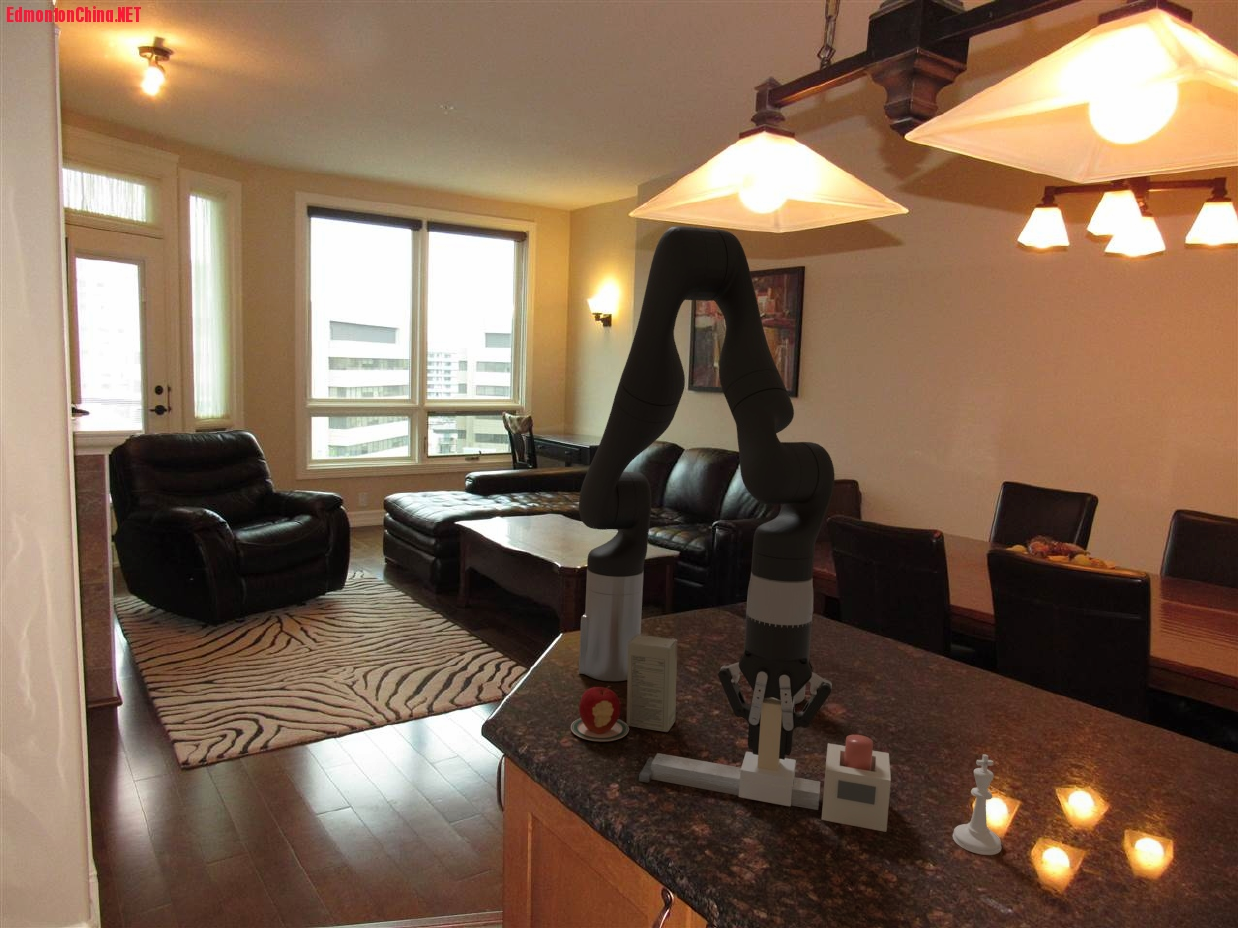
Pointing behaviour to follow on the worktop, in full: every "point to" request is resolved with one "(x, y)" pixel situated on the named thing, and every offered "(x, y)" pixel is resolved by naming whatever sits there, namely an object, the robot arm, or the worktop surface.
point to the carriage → (768, 762)
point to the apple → (599, 716)
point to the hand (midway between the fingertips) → (769, 753)
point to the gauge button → (858, 752)
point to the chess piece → (979, 816)
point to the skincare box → (651, 682)
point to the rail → (718, 778)
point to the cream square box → (856, 791)
